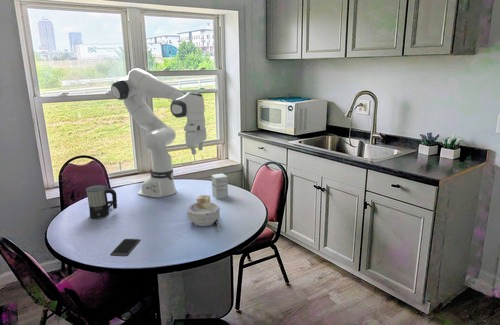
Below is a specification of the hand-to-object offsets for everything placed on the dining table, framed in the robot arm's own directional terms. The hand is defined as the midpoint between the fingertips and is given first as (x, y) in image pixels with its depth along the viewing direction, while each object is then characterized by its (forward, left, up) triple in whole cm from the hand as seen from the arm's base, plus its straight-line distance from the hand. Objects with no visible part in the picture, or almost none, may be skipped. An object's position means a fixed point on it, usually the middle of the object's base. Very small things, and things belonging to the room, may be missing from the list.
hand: (197, 152), depth 179 cm
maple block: (+8, -16, -23) cm, 29 cm away
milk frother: (-49, -14, -31) cm, 60 cm away
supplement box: (+5, +20, -31) cm, 37 cm away
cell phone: (-16, -46, -31) cm, 58 cm away
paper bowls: (+8, -16, -31) cm, 36 cm away
